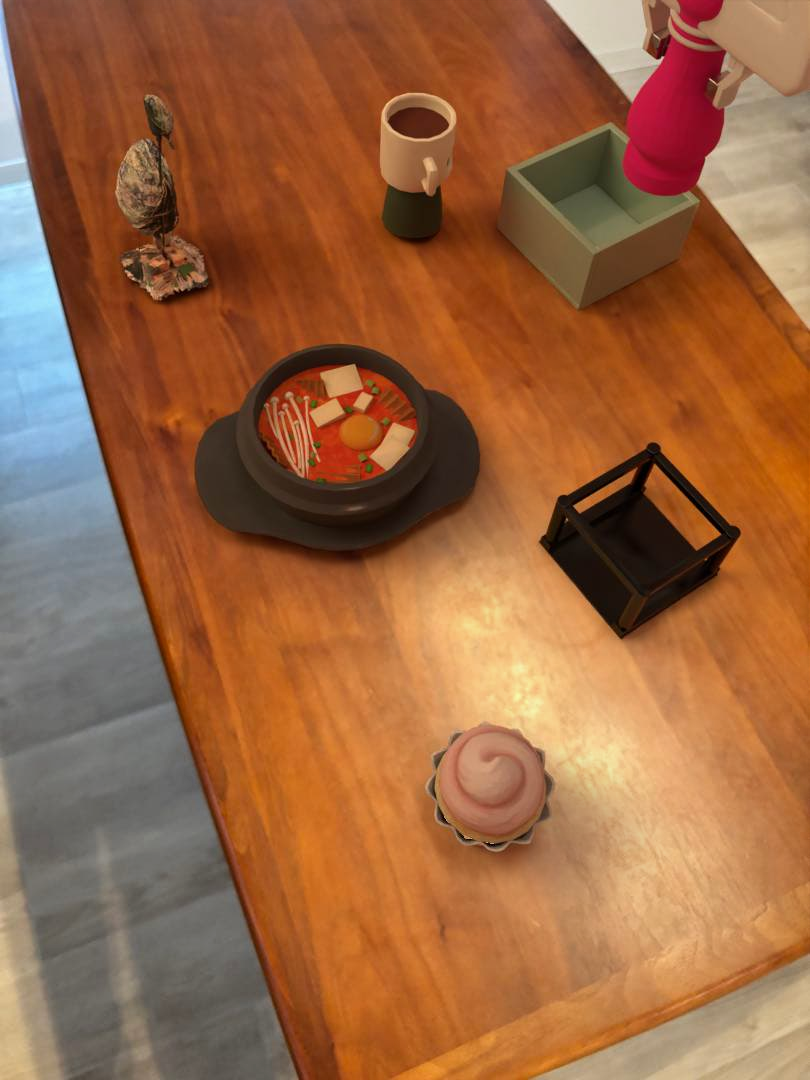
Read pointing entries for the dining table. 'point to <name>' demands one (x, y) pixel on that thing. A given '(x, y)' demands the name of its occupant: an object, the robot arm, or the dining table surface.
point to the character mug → (415, 162)
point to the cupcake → (490, 786)
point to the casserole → (336, 452)
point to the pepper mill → (676, 108)
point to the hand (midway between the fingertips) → (686, 76)
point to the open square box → (590, 217)
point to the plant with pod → (156, 213)
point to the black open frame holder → (633, 545)
